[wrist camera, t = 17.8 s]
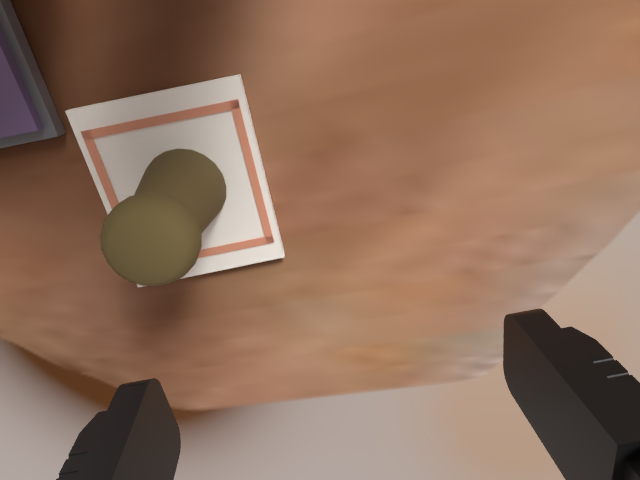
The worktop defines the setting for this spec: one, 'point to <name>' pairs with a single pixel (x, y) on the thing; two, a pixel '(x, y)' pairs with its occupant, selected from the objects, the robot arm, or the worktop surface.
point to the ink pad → (22, 88)
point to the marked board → (195, 134)
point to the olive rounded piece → (164, 218)
